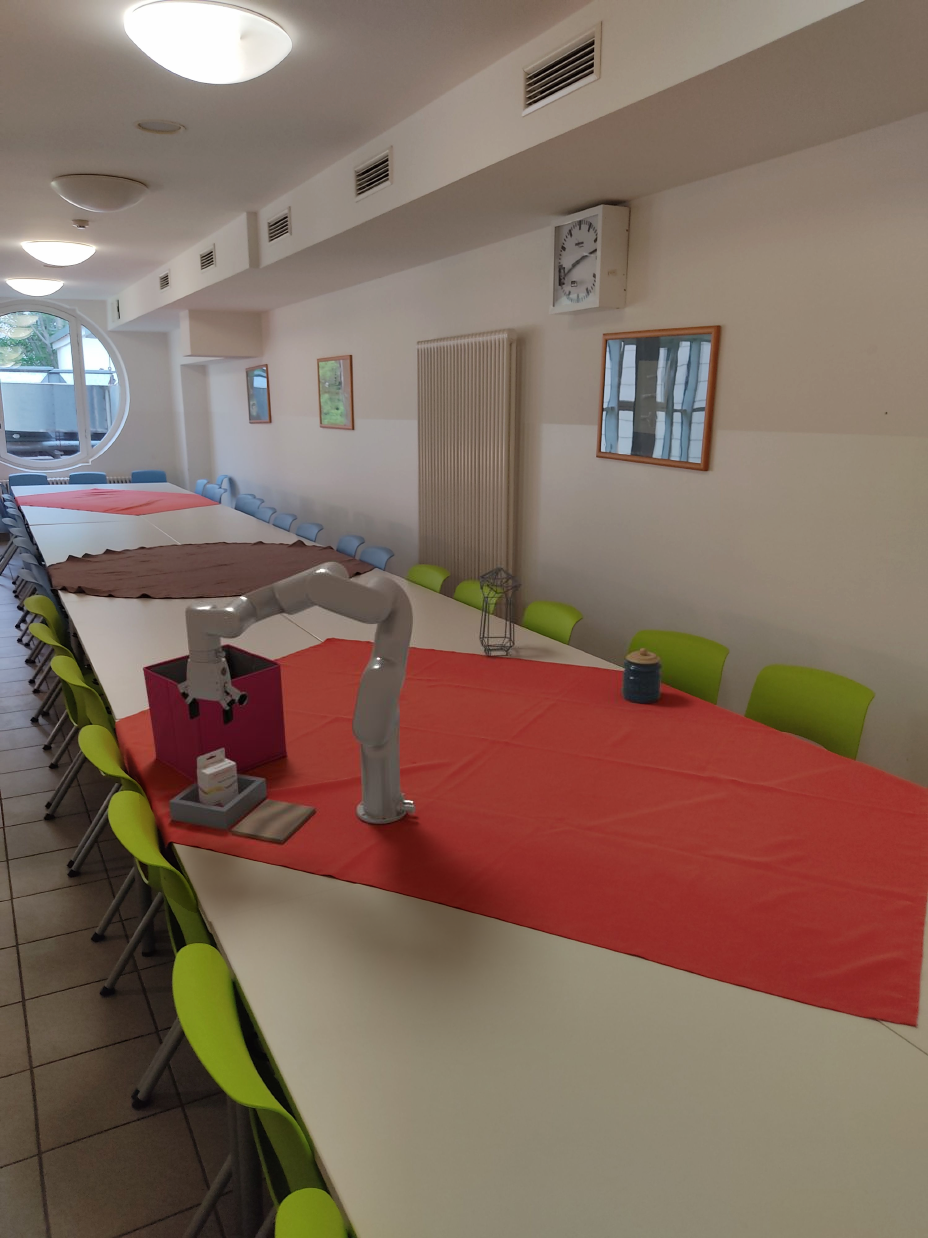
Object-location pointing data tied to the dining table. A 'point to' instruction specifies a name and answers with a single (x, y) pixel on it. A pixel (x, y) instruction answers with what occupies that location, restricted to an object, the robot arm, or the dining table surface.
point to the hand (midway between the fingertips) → (211, 720)
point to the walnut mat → (273, 821)
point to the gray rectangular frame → (194, 812)
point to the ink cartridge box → (216, 779)
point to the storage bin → (218, 714)
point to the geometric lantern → (491, 573)
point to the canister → (642, 677)
